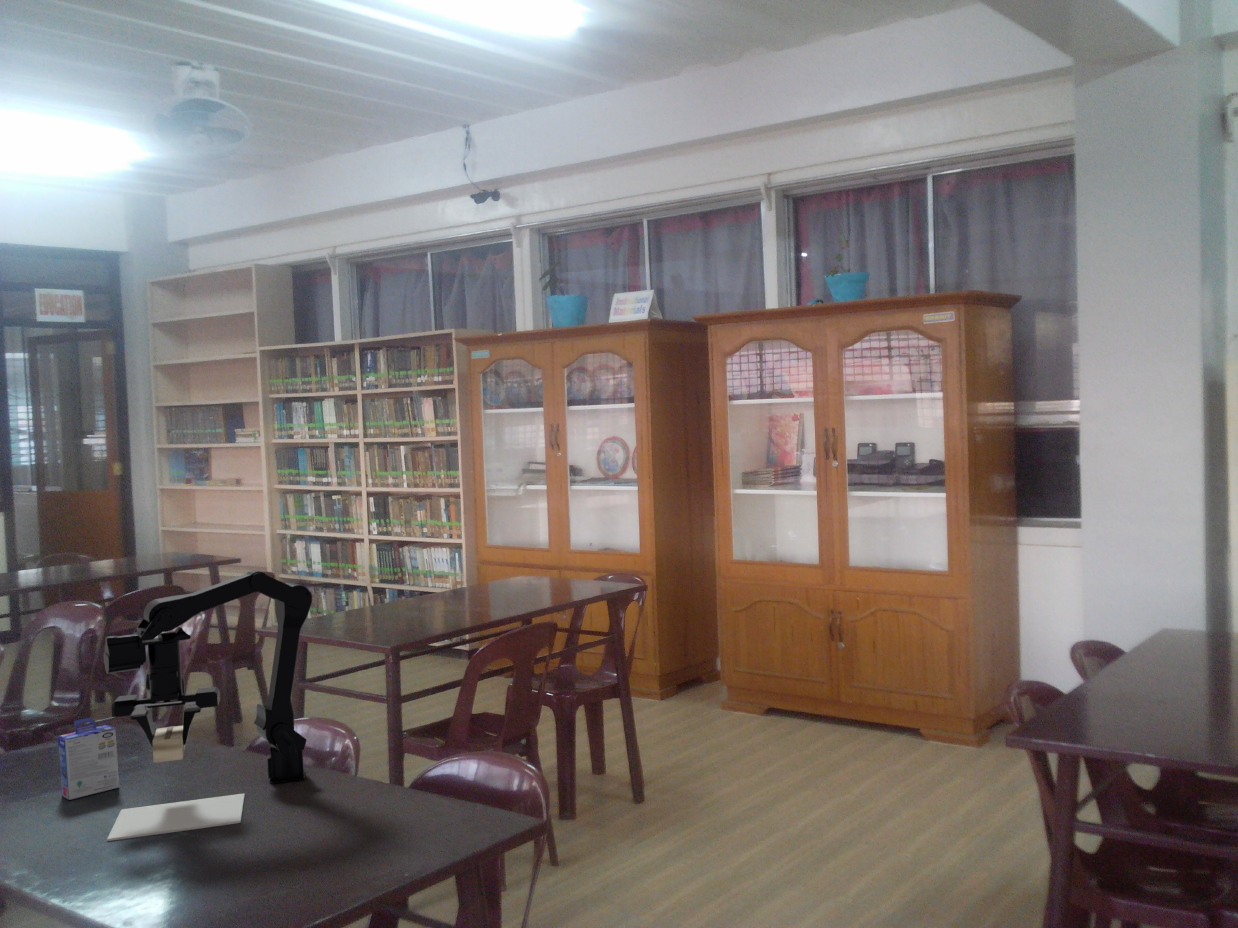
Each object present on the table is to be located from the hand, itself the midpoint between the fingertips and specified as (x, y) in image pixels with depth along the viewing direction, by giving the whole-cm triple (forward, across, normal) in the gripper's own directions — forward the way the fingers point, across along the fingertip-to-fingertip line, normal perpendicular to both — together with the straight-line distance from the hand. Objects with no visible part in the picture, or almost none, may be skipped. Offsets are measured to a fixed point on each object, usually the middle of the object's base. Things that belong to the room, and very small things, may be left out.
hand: (169, 745), depth 207 cm
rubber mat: (+11, -2, +9) cm, 15 cm away
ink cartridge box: (+11, +17, -14) cm, 25 cm away
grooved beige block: (+2, 0, 0) cm, 2 cm away
